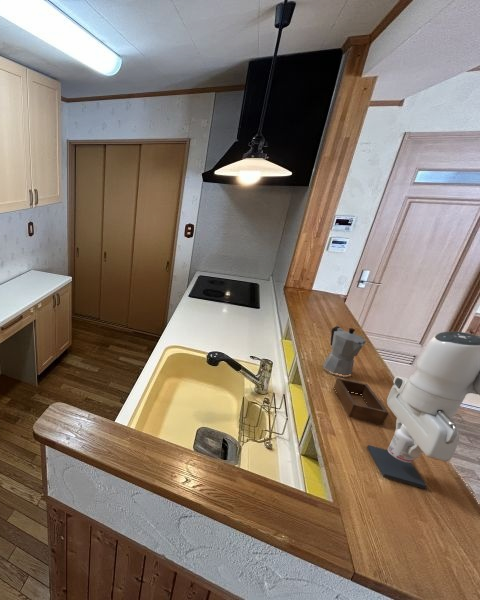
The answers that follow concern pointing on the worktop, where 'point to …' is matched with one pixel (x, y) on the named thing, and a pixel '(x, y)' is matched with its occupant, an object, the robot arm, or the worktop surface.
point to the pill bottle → (401, 445)
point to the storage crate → (370, 413)
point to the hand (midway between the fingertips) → (405, 445)
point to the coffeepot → (343, 351)
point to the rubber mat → (395, 468)
